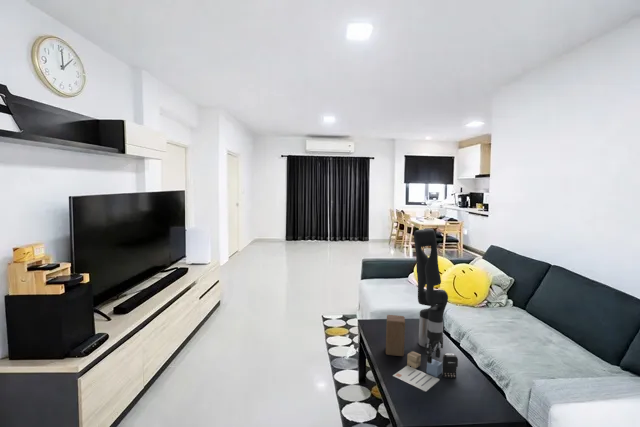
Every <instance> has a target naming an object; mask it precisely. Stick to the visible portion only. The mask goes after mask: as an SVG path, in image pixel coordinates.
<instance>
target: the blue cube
mask: <svg viewBox="0 0 640 427" xmlns="http://www.w3.org/2000/svg"><path fill="white" fill-rule="evenodd" d="M426 374H428V375H431V376H433V377H435V378H438V377H440V376H441V375H442V361H438V360H436V359H433V358H432V363H431V364H430V363H428V362H427V361H426Z"/></svg>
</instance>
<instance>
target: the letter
mask: <svg viewBox="0 0 640 427" xmlns="http://www.w3.org/2000/svg"><path fill="white" fill-rule="evenodd" d="M392 377H393V378H396V379H398V380H401V381H402V382H404V383H407V384H409V385H411V386H413V387H415V388H417V389H419V390H421V391H422V392H428V391H429V390H430V389H431V388H432V387H433V386H435V385H436V384H437V383H438V382H439V381H440V378H438V377H435V376H433V375H431V374H428V373H427V372H426V373H425V372H423V371H421V370H419V369H418V368H416V369H415V368H413V367H410V366H408V365H407V364H406V365H405V366H404V367H403V368H401V369H400V370H399V371H397V372H396V373H394V374H393V375H392Z"/></svg>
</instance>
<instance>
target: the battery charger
mask: <svg viewBox="0 0 640 427" xmlns="http://www.w3.org/2000/svg"><path fill="white" fill-rule="evenodd" d="M441 362H442V373H441V375H442V377H443V378H445V379H456V378H457V368H458V366H459V359H458V356H457V355H456V354H455V353H444V354H443V355H442V360H441Z"/></svg>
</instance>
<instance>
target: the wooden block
mask: <svg viewBox="0 0 640 427" xmlns="http://www.w3.org/2000/svg"><path fill="white" fill-rule="evenodd" d="M405 335H406V318H405V316H404V315H395V314H387V315H386V333H385V355H388V356H397V357H404V356H405Z"/></svg>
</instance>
